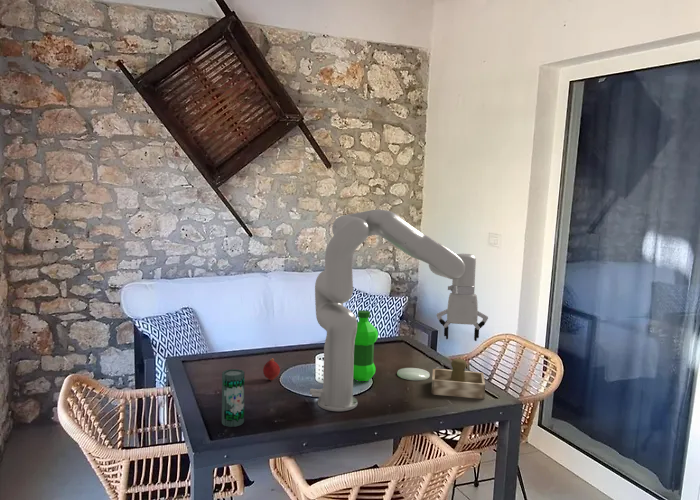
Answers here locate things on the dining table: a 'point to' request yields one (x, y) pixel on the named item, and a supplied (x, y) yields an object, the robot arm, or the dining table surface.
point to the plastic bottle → (364, 348)
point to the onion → (271, 369)
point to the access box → (458, 384)
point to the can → (233, 397)
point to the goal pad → (413, 374)
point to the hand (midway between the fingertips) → (461, 339)
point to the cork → (458, 370)
